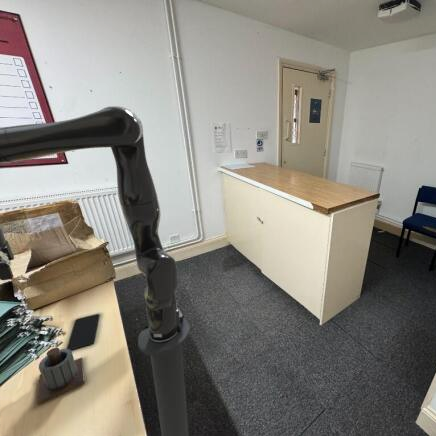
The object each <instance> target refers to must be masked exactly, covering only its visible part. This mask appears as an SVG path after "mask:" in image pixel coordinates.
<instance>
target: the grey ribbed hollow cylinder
mask: <svg viewBox="0 0 436 436" xmlns="http://www.w3.org/2000/svg"><path fill="white" fill-rule="evenodd" d="M59 350H60V353H61V356H62V359H63V361H62V362H61V363H60V364H58V365H55V366H53V367H51V365H50V363H49V360H48V357H47V355H46V356H45V357H43V358H42V359H41V360H40V361H39V363H38V370H39V373H40V374H41V376H42V378H43V381H44V384H45V386H46V387H47V388H49V389H55V388H57V387H58V388H59V387H61V386H63V385H65V383H66V384H67V383H68V382H70V381H71V380H72V379H73V378H74V377H75V375H76V374H77V367H76V364H75V361H74V360H75V357H74V353H73V351H71V350H69V349H67V348H62V349H59Z"/></svg>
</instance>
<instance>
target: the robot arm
mask: <svg viewBox="0 0 436 436" xmlns="http://www.w3.org/2000/svg"><path fill="white" fill-rule="evenodd" d="M144 138H145V137H144V127H143V124H142V121H141V119H140V118H139V116H138V115H137V114H136V113H135V112H133V111H132V110H130V109H128V108H127V107H123V106H118V105H117V106H116V105H115V106H114V105H111V106H105V107H103V108H101V109H100V110H98V111H95V112H92V113H88V114H85V115H83V116H79V117H75V118H71V119H66V120H60V121H54V122H43V123H42V122H41V123H30V124H29V123H27V124H19V125H12V126H5V127H0V164H4V165H5V164H12V163H18V162H23V161H28V160H34V159H40V158H43V157H48V156H53V155H57V154H61V153H67V152H72V151H79V150H85V149H86V150H87V149H97V148H99V149H100V148H110V150H111V152H112V156H113V159H114V162H115V166H116V183H117V184H116V185H117V195H118V200H119V203H120V207H121V210H122V214H123V216H124V220H125V222H126V225H127V228H128V230H129V234H130V236H131V238H132V241H133V245H134V246H133V247H134V252H135V260H136V261H135V262H136V265H137V268H138V270H139V272H140V273H141V274H142V275H143V276H144V277H145V278H146V287H145V289H144V290H143V291H144V302H145V308H146V309H145V310H146V315H147V317H146V318H147V324H148V325H149V333H150V339H151V340H152V341H153V342H155V343H164V342H167V341H169V340H171V339H173V338H174V337H175V336H176V335H177V334H178V333H179V332H181V330H180V323H182V322H184V320H183V318H184V319H185V314H183V313H182V311H181V310H180V308H179V307H178V305H177V292H176V290H177V286H178V265H177V262H176V260H175V258H174V257H173V256H171V254H169V253H168V252H166V250H165V249H164V247H163V245H162V242H161V239H160V235H159V227H160V222H161V215H162V214H161V213H162V212H161V207H160V206H161V205H160V201H159V197H158V193H157V191H156V187H155V183H154V179H153V177H152V173H151V170H150V168H149V165H148V161H147V155H146V147H145V139H144ZM14 259H15V256H14V253H13V251H12V249H11V245H10V243H9V241H8V240H7V239H6V237H5V234H4V231H3V228H2V226H1V224H0V281H9V280H12V279H13V278H14V274H13V271H12V269H11V268H12V267H11V265H12V261H14Z"/></svg>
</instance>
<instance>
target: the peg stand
mask: <svg viewBox="0 0 436 436" xmlns="http://www.w3.org/2000/svg"><path fill="white" fill-rule="evenodd" d="M60 350H61V349H60V348H59V347H53V348H51V349H49V350H48V351H47V352H46V356H47V357H48V360H49V363H50V365H51V367H53V366H55V365H58V364H60V363H61V362H62V361H63V359H62V356H61V353H60ZM74 361H75V364H76V367H77V374H76V375H75V377H74V378H73V379H72V380H71V381H70V382H68V383H67V384H66V383H65V385H63V386H61V387H59V388H58V387H57V388H55V389H49V388H47V387H46V386H45V384H44V381H43V378H42V376H41V373H40V374H39V379H38V387H37V388H38V391H37V404H38V405H41V404H43V403H45V402H47V401H50V400H52V399H53V398H56V397H58V396H60V395H62V394H65V393H66V392H68V391H70V390H73V389H75V388H77V387H79V386H81V385H84V384H85V373H84V360H83V357H79V358H77V359H74Z"/></svg>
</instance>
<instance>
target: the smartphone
mask: <svg viewBox="0 0 436 436" xmlns="http://www.w3.org/2000/svg"><path fill="white" fill-rule="evenodd" d="M99 321H100V314H99V313H96V314H92V315H87V316H83V317H79V318H77V319H75V320H74V324H73V328H72V330H71V334H70V337H69V340H68V343H67V347H66V349H69V350H71V351H72V352H73V351H77V350H79V349H82V348H86V347H90V346H92V345H94V344H95V342H96V336H97V331H98V326H99Z"/></svg>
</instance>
